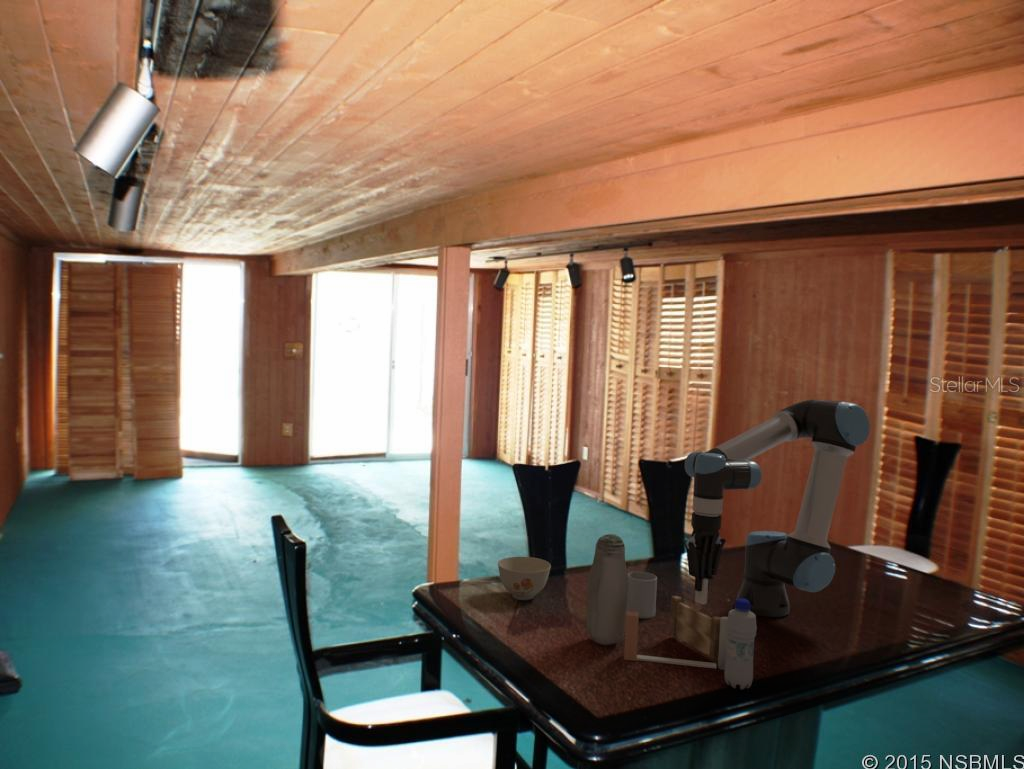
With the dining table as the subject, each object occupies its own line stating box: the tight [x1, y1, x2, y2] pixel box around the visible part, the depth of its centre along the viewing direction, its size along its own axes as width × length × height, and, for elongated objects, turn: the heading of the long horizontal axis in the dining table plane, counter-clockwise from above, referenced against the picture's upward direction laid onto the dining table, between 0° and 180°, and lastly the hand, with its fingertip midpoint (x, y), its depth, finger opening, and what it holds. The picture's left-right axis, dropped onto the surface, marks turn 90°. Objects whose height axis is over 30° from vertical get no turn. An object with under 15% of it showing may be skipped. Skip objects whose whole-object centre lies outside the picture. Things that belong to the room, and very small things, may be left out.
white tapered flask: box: [585, 533, 629, 646], centre depth 194 cm, size 10×10×28 cm
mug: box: [627, 571, 658, 619], centre depth 218 cm, size 12×8×11 cm
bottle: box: [723, 598, 758, 690], centre depth 172 cm, size 7×7×20 cm
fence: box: [623, 611, 728, 671], centre depth 183 cm, size 26×3×12 cm, turn 80°
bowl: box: [497, 556, 552, 601], centre depth 227 cm, size 16×16×10 cm
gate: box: [669, 595, 721, 660], centre depth 192 cm, size 18×2×10 cm, turn 25°
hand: (700, 602), depth 197 cm, fingers closed
